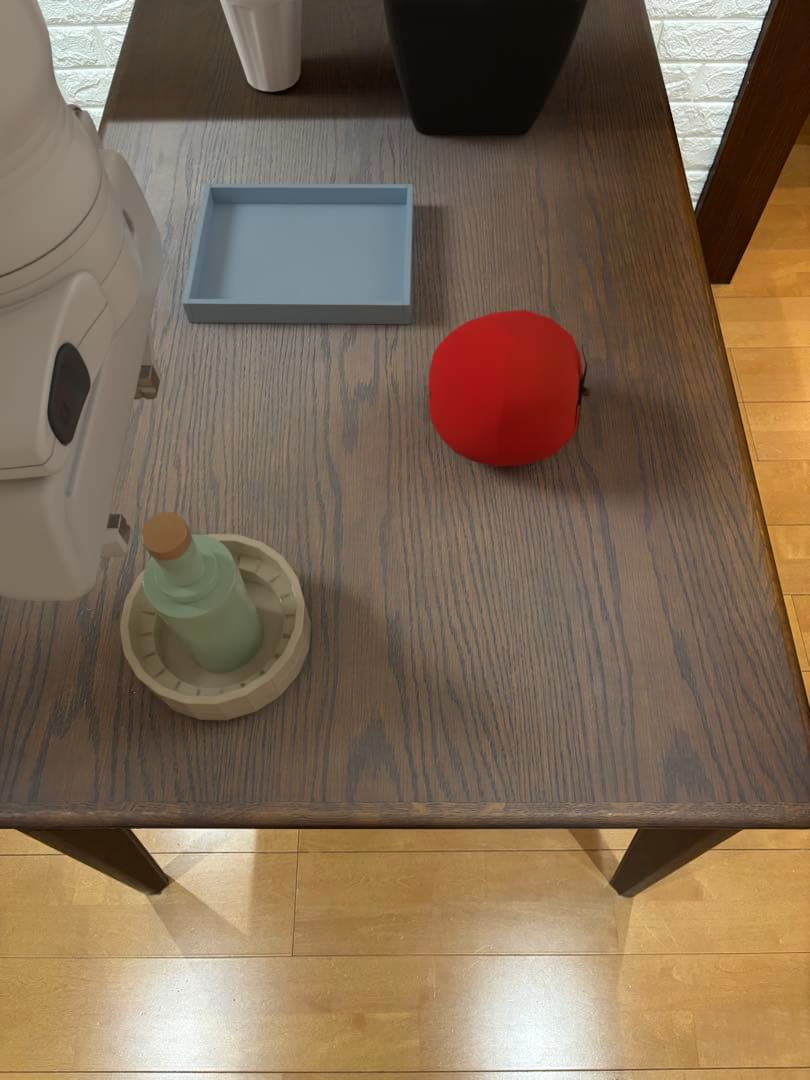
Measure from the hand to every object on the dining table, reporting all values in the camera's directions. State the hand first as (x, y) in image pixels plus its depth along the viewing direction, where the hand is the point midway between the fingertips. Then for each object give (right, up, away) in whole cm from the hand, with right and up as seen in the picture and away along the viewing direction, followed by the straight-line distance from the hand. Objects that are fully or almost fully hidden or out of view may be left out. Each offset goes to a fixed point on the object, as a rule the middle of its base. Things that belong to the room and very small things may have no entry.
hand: (130, 462), depth 42 cm
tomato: (+23, +6, +30) cm, 38 cm away
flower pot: (+22, +46, +51) cm, 72 cm away
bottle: (0, -11, +21) cm, 24 cm away
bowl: (0, -12, +22) cm, 25 cm away
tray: (+4, +24, +40) cm, 47 cm away
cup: (-1, +50, +53) cm, 73 cm away
